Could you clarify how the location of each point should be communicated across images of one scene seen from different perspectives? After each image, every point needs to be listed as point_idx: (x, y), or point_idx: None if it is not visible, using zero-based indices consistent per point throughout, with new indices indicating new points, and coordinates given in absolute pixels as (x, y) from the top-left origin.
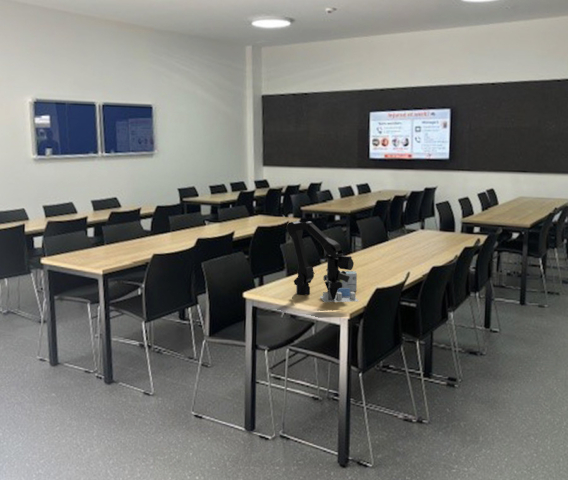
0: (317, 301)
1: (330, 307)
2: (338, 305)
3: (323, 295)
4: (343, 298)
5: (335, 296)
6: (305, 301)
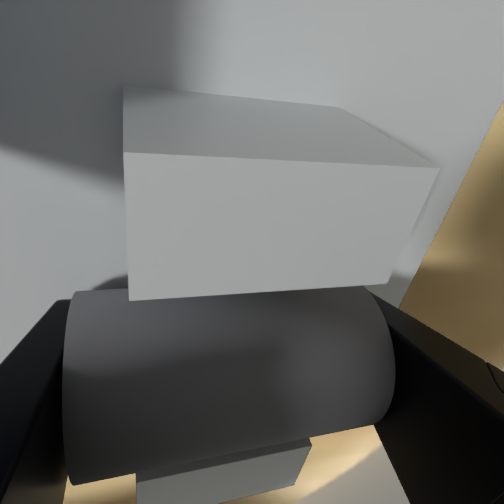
0: None
1: (495, 316)
2: (493, 221)
3: None
4: (251, 9)
5: (372, 302)
6: None
